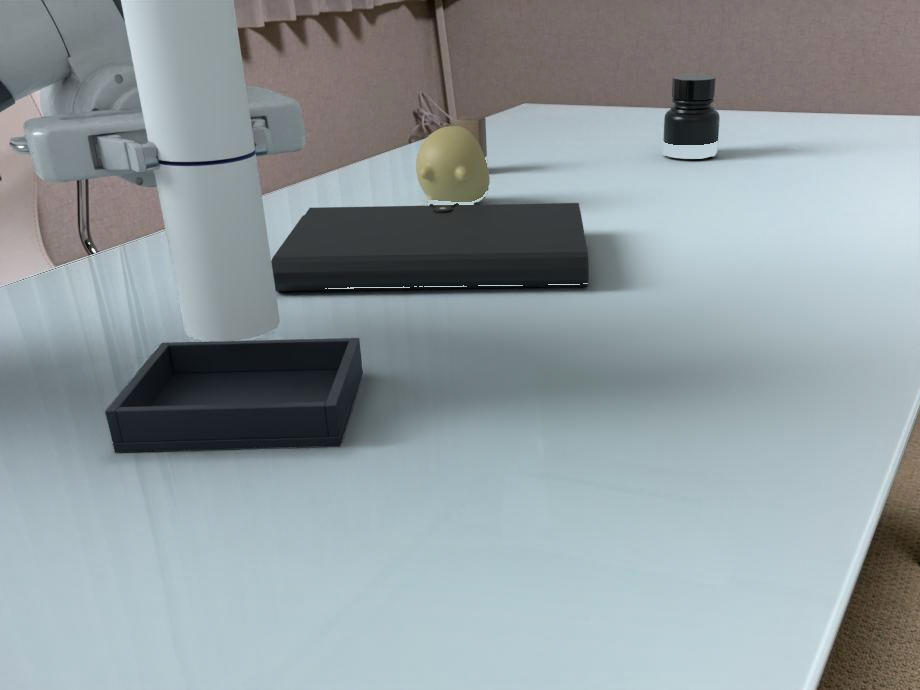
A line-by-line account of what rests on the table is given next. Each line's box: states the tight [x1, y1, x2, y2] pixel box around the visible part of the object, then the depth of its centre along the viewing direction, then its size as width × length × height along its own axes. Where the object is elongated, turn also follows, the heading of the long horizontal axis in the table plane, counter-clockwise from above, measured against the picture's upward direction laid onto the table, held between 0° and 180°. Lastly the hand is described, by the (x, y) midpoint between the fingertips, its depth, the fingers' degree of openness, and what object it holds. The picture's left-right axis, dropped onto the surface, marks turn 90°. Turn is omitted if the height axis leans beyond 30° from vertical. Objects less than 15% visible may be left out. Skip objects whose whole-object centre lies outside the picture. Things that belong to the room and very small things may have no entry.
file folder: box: [271, 202, 590, 293], centre depth 119 cm, size 33×4×24 cm
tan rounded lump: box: [415, 125, 491, 202], centre depth 141 cm, size 10×12×11 cm
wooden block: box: [454, 115, 488, 157], centre depth 163 cm, size 4×4×8 cm
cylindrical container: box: [121, 0, 281, 342], centre depth 74 cm, size 7×7×25 cm
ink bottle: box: [662, 74, 720, 145], centre depth 170 cm, size 10×9×12 cm
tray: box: [104, 337, 364, 453], centre depth 83 cm, size 17×15×3 cm
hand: (208, 150), depth 74 cm, fingers closed on cylindrical container, 7 cm apart
